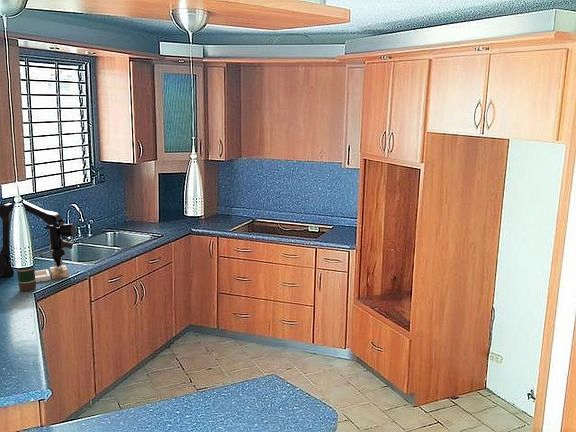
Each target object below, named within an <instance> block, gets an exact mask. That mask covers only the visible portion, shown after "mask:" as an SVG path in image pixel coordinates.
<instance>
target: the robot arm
mask: <svg viewBox="0 0 576 432" xmlns="http://www.w3.org/2000/svg"><path fill="white" fill-rule="evenodd" d="M22 200H23V203H24V206H25V208H26V212H28V213H30V214H32V215H34V216H36V217H38V218H40V219H41V220H42V221H43V222H44V223H46V226H45V227H44V228H43V229H44V230H48V234H49V236H48V237H49V239H48V240H49V246H48V249H49V251H50V252H49V253H50V254H51V257H52V258H53V259H54V260H55V262H56V264H57V266H60V262H61V258H62V257H63V256H65V254H66V252H65V250H64V248H65V249H69V250H73V245H74V242H73V241H71V239H70V238H71V237H72V238H73V237H75V236H76V233H77V231H76V228H75V226H74V223H66V222H65V221H64V219H62V217H61V214H60V213H58V212H55V211H50V210H45V209H44V208H41V207H39V206H37V205H35V204H32V203H30V202H28V201H26V200H25V199H22ZM14 203H15V202H13V203H11V202H8V203H3V204H2V205H0V219H1V221H2V225H1V226H2V227H1V228H2V247H1V249H0V279H3V278H11V277H14V274H15V272H14V267H13V268H11V265H10V257H9V226H10V219H11V213H12V208H13V204H14ZM62 237H64V238H65V239H63V238H62ZM66 237H67V238H66ZM69 237H70V238H69Z"/></svg>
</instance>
